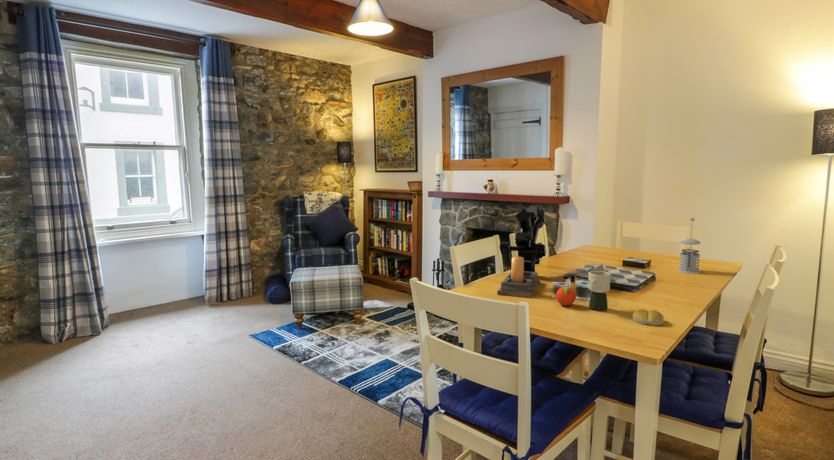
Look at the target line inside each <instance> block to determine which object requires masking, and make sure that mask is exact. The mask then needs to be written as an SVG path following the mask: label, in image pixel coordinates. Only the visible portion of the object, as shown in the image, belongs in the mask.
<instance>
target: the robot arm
mask: <svg viewBox="0 0 834 460" xmlns="http://www.w3.org/2000/svg"><path fill="white" fill-rule="evenodd" d="M515 219H516V223H517V224H516V225H517V227H518V231H516V232H515V233H514V234H515V235H514V240H515V241H514V244H515V245H511V243H510V242H504V241H503V242H500V243H499V247H498V248H499V251H500V254H501V255H503V256H504V257H506V261H507V266H508V267H510V265H511V260H512V257H511V256H512V255H511V252H512V251H513V252H517V257H523V258H524V271H528V272H536V265H540V264H541V262H540V260H541V259H542V258H543V257H544V258H545V257H546V255H547V248H546V245H545V244H544V243H537V239H538V236H539V230H540V229H542V228H543V227H544V224H545V223H546V212H545V211H544V210H543V209H542V208H541V206H540V205H539V204H537V205H536V204H535V205H533V204H531V205H528V208H527V209H526V208H522V209H521V211H518V212H517V213H516V215H515Z"/></svg>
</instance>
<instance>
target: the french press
mask: <svg viewBox="0 0 834 460" xmlns="http://www.w3.org/2000/svg"><path fill="white" fill-rule="evenodd" d="M689 221H691V222H693V221H695V218H694V217H690V218H689ZM690 228H691V229H690V236H692V233H693V232H692V231H693V224H691V227H690ZM680 243H681V244H682V245H683V244H685V245H689V246H690V247H687V249H686V248H685V249H683V248H682V249H681V252H680V253H679V256H680V257H679V267H678V268H677V269H676V271H677V272H679V273H683V274H692V275H693V274H695V275H696V274H701V273H702V272H701V270H700V267H699V266H700V259H701V258H700V257H701V255H700V253H699V252H700V251H699V250H698V249H697V250H696V249H694V248H693V247H694V246H693V245H701V244H702V242H701V241H700V240H698V239H695V238H692V237H690V238H685V239H682V240H680Z"/></svg>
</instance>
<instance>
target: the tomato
mask: <svg viewBox="0 0 834 460" xmlns="http://www.w3.org/2000/svg"><path fill="white" fill-rule="evenodd" d="M555 299H556V301H557V303H559V304H560V305H562V306H564V307H566V306H567V307H569V306H571V305H573V304H574V303H575V301H576V299H577V294H576V291H575V290H574V289H573V288H572V287H570V286H567V285H566V286H562V287H559V289H558V290H557V291H556V294H555Z"/></svg>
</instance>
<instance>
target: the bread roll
mask: <svg viewBox="0 0 834 460" xmlns="http://www.w3.org/2000/svg"><path fill="white" fill-rule="evenodd" d="M664 318H665V316H664V315H663V314H662V313H661V312H660V311H658V310H655V309H651V310H647V309H645V308H640V309H639V308H638V309H637V310H635V311H634V312H633V313H632V320H634V321H635V322H636V323H637V324H641V325H646V326H647V325H649V326H653V327H655V326H656V327H657V326H662V325H663V324H664Z"/></svg>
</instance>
